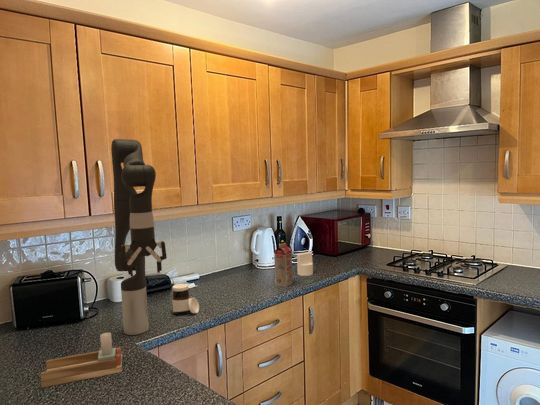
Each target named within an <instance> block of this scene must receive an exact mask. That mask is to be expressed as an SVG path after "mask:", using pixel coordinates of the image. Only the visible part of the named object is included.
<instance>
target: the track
mask: <svg viewBox="0 0 540 405" xmlns="http://www.w3.org/2000/svg"><path fill="white" fill-rule="evenodd" d="M98 355H99V350H97V351H91V352H85V353H79V354H74V355H67V356H62V357H58V358H57V357H56V358H52V359H46V361H45V364H46V365H45V366H46V370H44V371H41V372H40V378H41V380H40V381H41V382H40V383H41V388H47V387H53V386H58V385H63V384H68V383H73V382H77V381H83V380H88V379H93V378H99V377H102V376H103V377H104V376H108V375H115V374H118V373H122V372H123V353H122V350H121V346H119V347H116V358H114V359H109V360H103V361H98Z"/></svg>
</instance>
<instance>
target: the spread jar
mask: <svg viewBox="0 0 540 405" xmlns="http://www.w3.org/2000/svg"><path fill="white" fill-rule="evenodd" d="M190 293H191V292H190V290H189V284H187V283H177V284H175V285H173V286H172V292H171V302H172V312H173V314H174V315H178V316H179V315H186V314H188V313H190V312H191V314H198V313H199V312H200V304H199V300H197V298H196V297H191V295H190Z"/></svg>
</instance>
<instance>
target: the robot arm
mask: <svg viewBox="0 0 540 405" xmlns="http://www.w3.org/2000/svg"><path fill="white" fill-rule="evenodd" d="M110 149H111V162H112V163H111V164H112V173H113V176H112V177H113V211H114V212H113V213H114V230H115V233H114V234H115V236H114V237H115V238H114V267H115V269H116V271H117V272H127V274H128V275H130V276H129V277H128V278H125V279H123V280H122V281H121V282H120V293H121V294H120V295H121V308H122V323H123V333H124V335H128V336H129V335H130V336H133V335H134V336H136V335H141V334H143V333H145V332H147V331H148V330H149V329H150V327H149V312H148V297H147V283H146V282H147V281H146V280H147V279H146V257H149V256H152V257H153V258H154V259H155V260H156V270H157V271H156V272H157V274H160V273H161V271H162V268H163V267H162V261H164V260H166V259H167V250H166V249H167V248H166V243H165V241H164V240H161V241H158V242H157V241H156V239H155V238H156V236H155V235H156V234H155V221H154V214H153V199H152V198H153V191H154V190H153V189H154V186H155V182H156V177H157V173H156V172H157V171H156V170H155V168H154V167H153V165H150V164H146V163H145V161H144V156H143V155H144V154H143V148H142V145H141V142H140V141H139V140H136V139H128V138H127V139H126V138H116V139H113V140H112V141H111V147H110ZM122 164H123V166H122ZM138 187H139V188H140V187H144V189H143V191H141V192H139V193H138V192H137V190H136V189H135V188H138ZM129 232H130V244H126V240H127V236H128V234H129ZM156 247H158V248H159V249H160V250H161V255H159V254H158V253H157V252H156V251H155V249H156ZM133 271H135V274H134V273H133Z"/></svg>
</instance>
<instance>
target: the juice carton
mask: <svg viewBox="0 0 540 405" xmlns="http://www.w3.org/2000/svg"><path fill="white" fill-rule="evenodd" d="M292 252H293V250H292V248H291V247H289V246H287V242H283V243H281V244H278V248H276V249H275V250H274V251H273V253H274V254H273V255H274V256H273V257H274V277H275V278H274V279H275V281H274V283H275V284H274V286H279V287H284V288H287V287H289V286H291V285H293V284H294V283H293V254H292Z"/></svg>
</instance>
